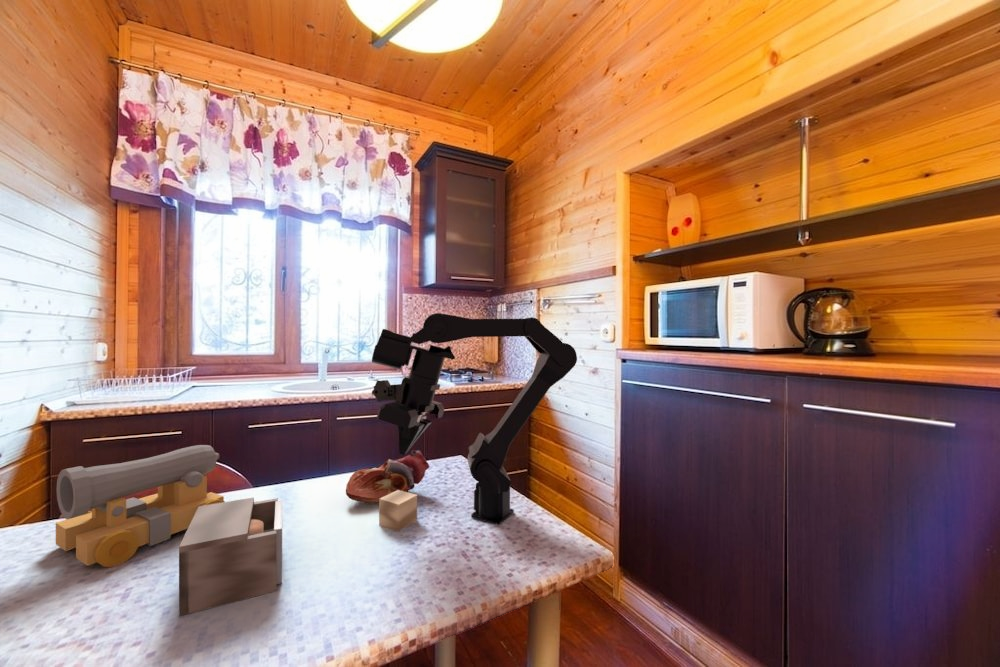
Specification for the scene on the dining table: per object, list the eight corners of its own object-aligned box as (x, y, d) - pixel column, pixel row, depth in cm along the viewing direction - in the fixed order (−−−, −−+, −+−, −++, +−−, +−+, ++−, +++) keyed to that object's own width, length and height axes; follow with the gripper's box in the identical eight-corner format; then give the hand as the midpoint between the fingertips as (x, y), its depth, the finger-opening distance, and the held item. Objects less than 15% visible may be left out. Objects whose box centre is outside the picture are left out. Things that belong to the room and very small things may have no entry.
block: (417, 520, 79) (417, 495, 79) (398, 531, 74) (398, 504, 74) (398, 514, 81) (398, 489, 81) (379, 524, 77) (379, 498, 77)
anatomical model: (336, 473, 88) (385, 426, 88) (378, 485, 98) (422, 442, 98) (348, 514, 81) (402, 463, 81) (392, 523, 91) (440, 477, 90)
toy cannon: (240, 518, 80) (240, 442, 80) (86, 578, 60) (86, 478, 60) (196, 501, 87) (196, 432, 87) (47, 550, 68) (46, 461, 68)
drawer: (282, 547, 69) (282, 500, 68) (281, 583, 59) (281, 528, 59) (210, 562, 64) (210, 512, 64) (197, 604, 54) (197, 545, 54)
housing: (277, 545, 69) (277, 493, 69) (276, 590, 57) (276, 527, 57) (198, 562, 64) (198, 506, 64) (179, 616, 52) (178, 546, 52)
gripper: (407, 365, 90) (387, 433, 89) (363, 364, 71) (338, 450, 71) (453, 379, 87) (433, 449, 87) (420, 381, 69) (394, 470, 68)
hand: (402, 453), depth 78 cm, fingers closed
